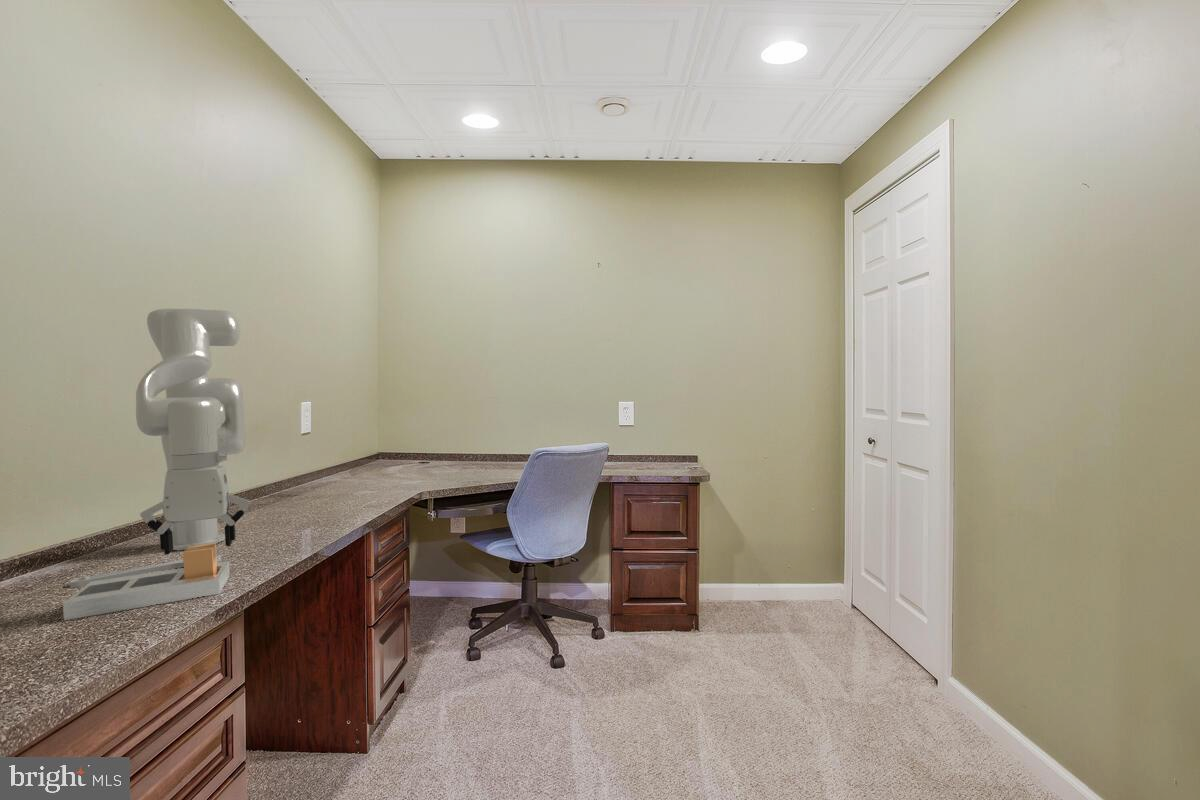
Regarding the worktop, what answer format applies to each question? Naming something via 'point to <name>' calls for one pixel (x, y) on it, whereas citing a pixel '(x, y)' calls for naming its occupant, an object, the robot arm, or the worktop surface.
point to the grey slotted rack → (130, 572)
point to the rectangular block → (200, 561)
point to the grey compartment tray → (142, 591)
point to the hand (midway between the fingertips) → (199, 548)
